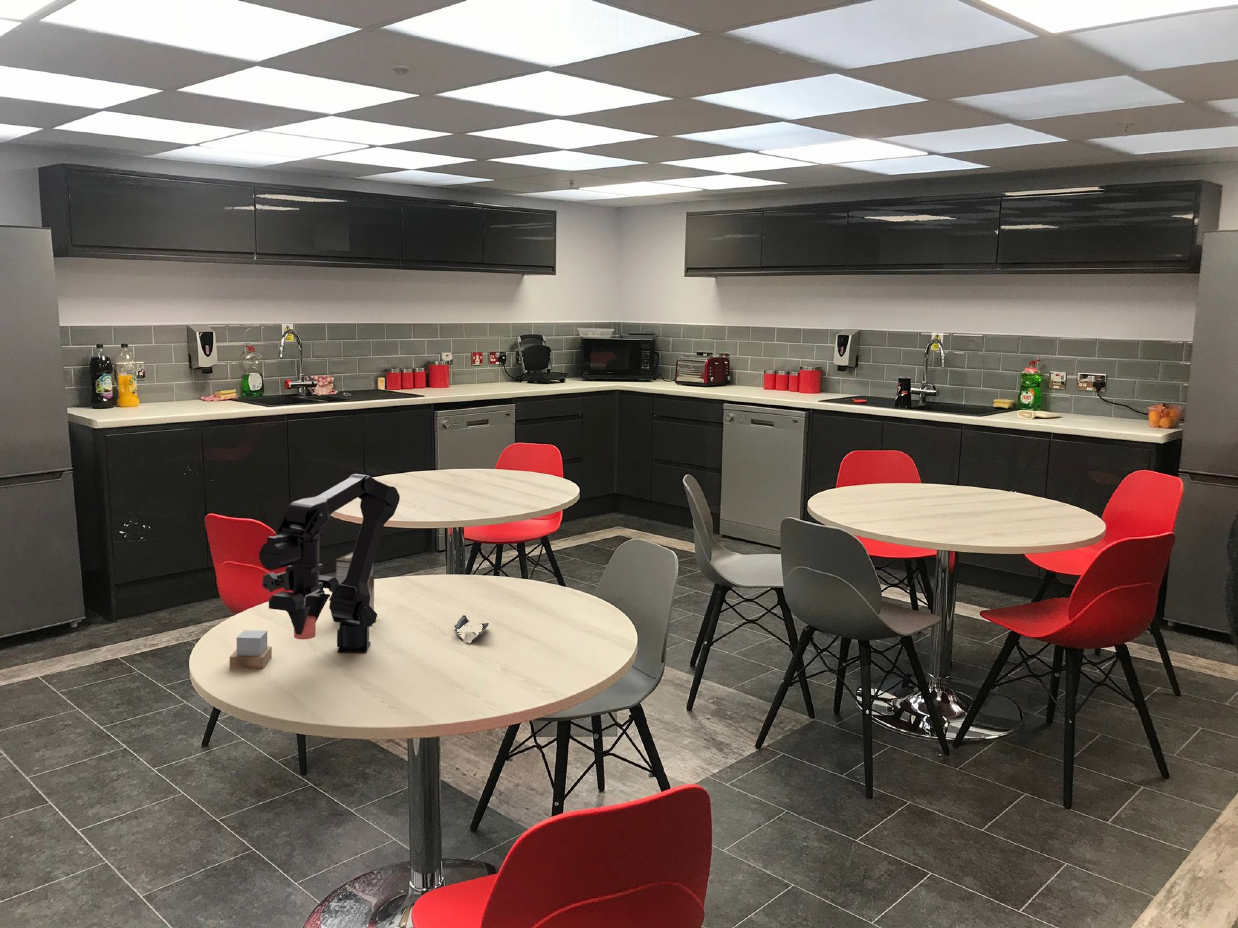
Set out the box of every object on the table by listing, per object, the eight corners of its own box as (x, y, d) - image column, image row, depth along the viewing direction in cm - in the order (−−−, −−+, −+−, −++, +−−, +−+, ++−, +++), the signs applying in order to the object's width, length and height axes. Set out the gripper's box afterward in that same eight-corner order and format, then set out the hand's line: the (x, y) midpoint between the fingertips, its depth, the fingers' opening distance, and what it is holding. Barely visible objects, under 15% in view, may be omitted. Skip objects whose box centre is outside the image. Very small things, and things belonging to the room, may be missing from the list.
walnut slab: (271, 659, 208) (271, 646, 208) (263, 670, 201) (263, 657, 201) (239, 659, 208) (239, 646, 207) (229, 670, 201) (229, 656, 200)
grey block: (267, 648, 207) (267, 630, 206) (260, 655, 202) (260, 638, 201) (244, 647, 206) (244, 630, 206) (236, 655, 201) (236, 637, 201)
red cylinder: (317, 632, 203) (317, 615, 203) (313, 639, 199) (313, 621, 198) (296, 632, 203) (296, 614, 202) (291, 639, 198) (291, 620, 198)
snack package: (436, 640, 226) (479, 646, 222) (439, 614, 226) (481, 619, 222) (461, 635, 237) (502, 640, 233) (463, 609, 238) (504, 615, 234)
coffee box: (352, 610, 245) (352, 551, 243) (374, 613, 244) (375, 553, 241) (334, 620, 236) (335, 559, 234) (358, 623, 235) (358, 561, 232)
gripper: (294, 547, 209) (294, 615, 211) (245, 566, 191) (245, 640, 193) (340, 552, 207) (339, 620, 209) (294, 572, 189) (294, 646, 191)
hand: (304, 631), depth 201 cm, fingers closed on red cylinder, 4 cm apart
